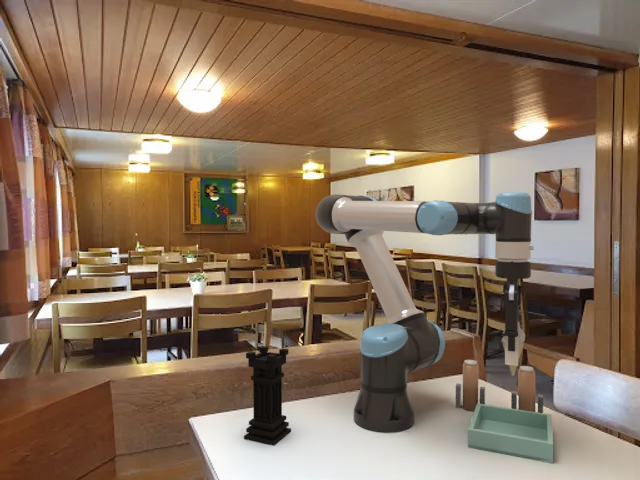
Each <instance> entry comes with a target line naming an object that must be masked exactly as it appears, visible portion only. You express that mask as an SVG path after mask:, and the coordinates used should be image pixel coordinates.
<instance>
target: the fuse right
mask: <svg viewBox="0 0 640 480" xmlns="http://www.w3.org/2000/svg"><path fill="white" fill-rule="evenodd" d="M517 374H518V375H517V377H518V378H517V382H518V383H517V385H518V387H517V389H518V391H517V393H518V395H517V401H518V402H517V403H518V404H517V405H518V407H517V408H518V410H525V411H531V412H536V371H535V370H534V367H533V366H530V365H521V366H519V369H518V370H517Z"/></svg>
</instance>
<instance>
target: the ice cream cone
mask: <svg viewBox="0 0 640 480" xmlns="http://www.w3.org/2000/svg"><path fill="white" fill-rule="evenodd" d="M519 322H520V321H519ZM519 322H518V362H519V361H520V357H521V355H522V354H521V353H522V351H523V347H524V344H525V340H526V333H525V332H524V330H523V328H522V329H521V328H520V327H521V326H520V325H521V323H519ZM502 333H505V328H504V329H503V332H502ZM500 341H501V343H502V346H503V347H502V348H503V350H504V352H505V336H503V337H502V338H501V340H500ZM508 367H509V372H510V374H511V376H512V377H514V376H515V374H516V370H517V367H518V366H514V365H508Z"/></svg>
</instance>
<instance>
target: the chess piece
mask: <svg viewBox="0 0 640 480" xmlns="http://www.w3.org/2000/svg"><path fill="white" fill-rule="evenodd" d="M258 352H259V353H256V351H247V352H246V353H245V359H248V360H247V361H248V367H250V368H252V369H253V370H252V371H253V372H252V375H251V376H250V381H252V382H253V384H252V385H253V394H252V395H253V418H252V419H249V421H248V425H249V426H248V427H247V428H245V429H246V430H245V431H246V434H244V436H243V440H247V441H251V442H255V443H259V444H264V445H268V446H272V447H274V446H276V445H277V444H278V443H279V442H280V441H282V440H283V439H284V438H286V437H287V436H288V435H289V434H290V433H291V432H292V428H290V427H289V425H290V422H288V421H286V420H287V415H283V403H282V402H283V401H282V400H283V398H282V397H283V396H282V395H283V394H282V391H283V390H282V389H283V386H282V385H283V382H282V378H284V377H285V372H282V370H283V365H285V364H287V356H288V355H289V348H280V349H279V351H278V352H272V351H271V352H270V351H269V346H266V345H262V346H260V347H258Z"/></svg>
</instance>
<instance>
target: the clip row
mask: <svg viewBox="0 0 640 480" xmlns="http://www.w3.org/2000/svg"><path fill="white" fill-rule="evenodd" d="M517 393H518V391H515V390H511V393H510V395H511V396H510V397H511V400H510V402H511V404H510V405H511V406H510V408H511V409H517V408H518V407H517V405H518V404H517V403H518V402H517V401H518V395H517ZM479 404H485V405H486V387H485V386H480V387H479ZM461 407H462V383H458V382H457V383H456V384H455V408H456V409H461ZM537 412H538V413H544V394H540V393H538V394H537Z"/></svg>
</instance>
